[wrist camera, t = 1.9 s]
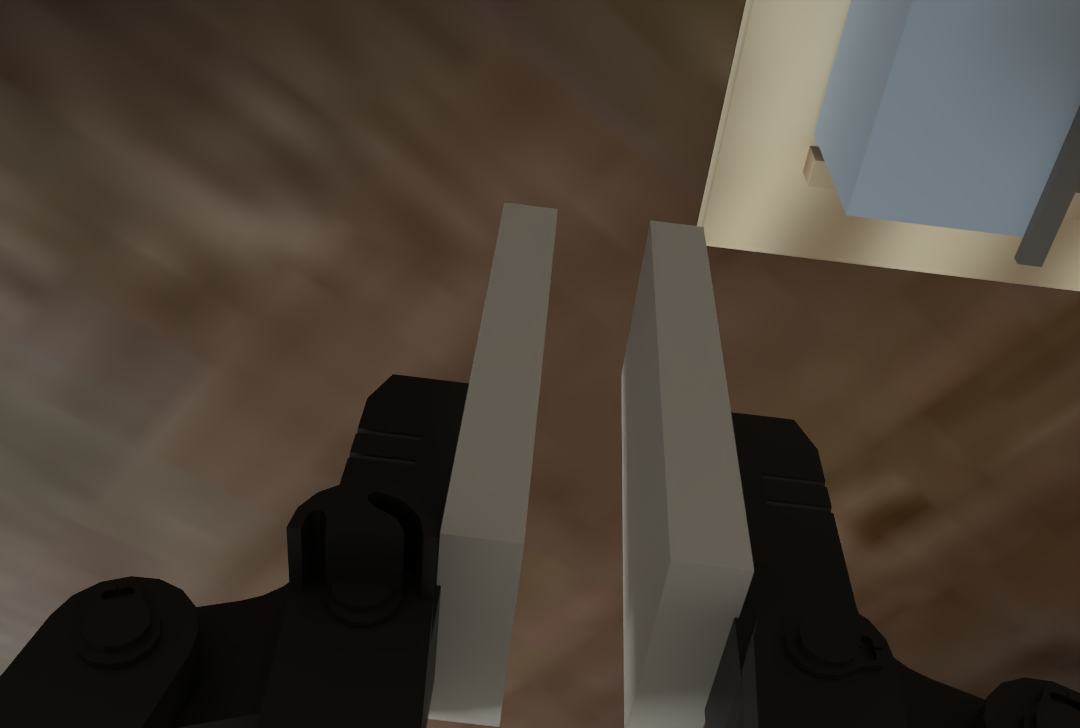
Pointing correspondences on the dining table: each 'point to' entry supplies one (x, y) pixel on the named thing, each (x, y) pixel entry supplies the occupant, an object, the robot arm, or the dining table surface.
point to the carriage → (957, 115)
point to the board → (802, 175)
